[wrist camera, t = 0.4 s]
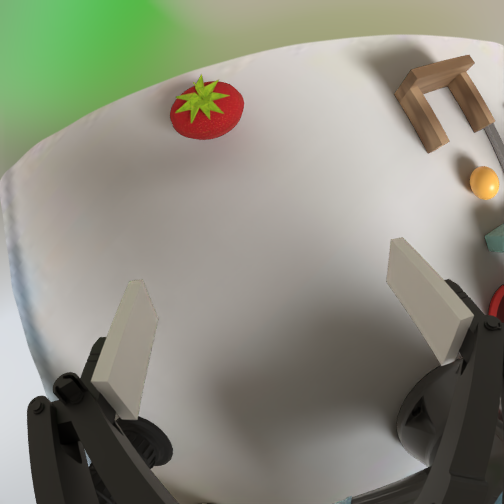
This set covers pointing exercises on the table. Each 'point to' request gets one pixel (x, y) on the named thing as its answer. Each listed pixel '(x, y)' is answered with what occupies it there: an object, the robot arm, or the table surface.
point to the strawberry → (207, 110)
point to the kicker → (496, 239)
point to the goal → (436, 78)
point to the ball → (484, 182)
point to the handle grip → (147, 446)
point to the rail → (496, 142)
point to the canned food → (497, 304)
